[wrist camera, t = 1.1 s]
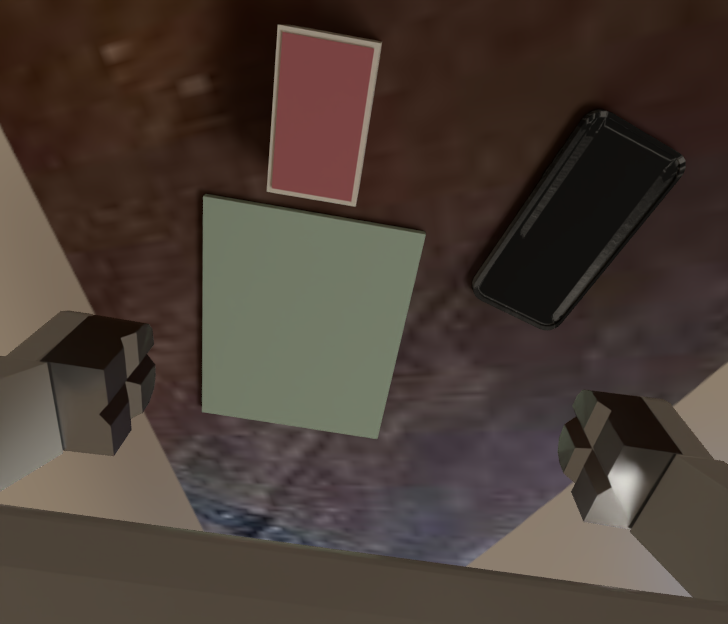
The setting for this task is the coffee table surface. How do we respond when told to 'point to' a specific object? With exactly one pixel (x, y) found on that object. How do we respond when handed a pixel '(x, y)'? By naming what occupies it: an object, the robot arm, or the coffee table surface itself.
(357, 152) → the card case
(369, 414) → the mat
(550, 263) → the phone
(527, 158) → the coffee table surface
